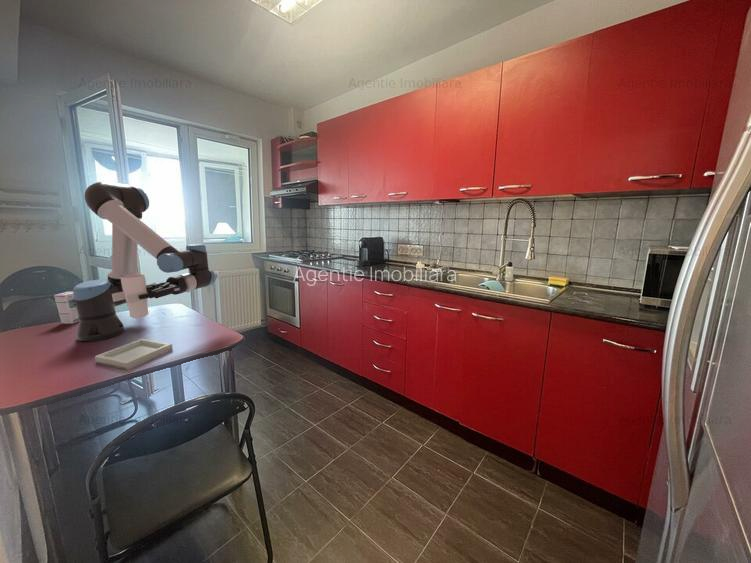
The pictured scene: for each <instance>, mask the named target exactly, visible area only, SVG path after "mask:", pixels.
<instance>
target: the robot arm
mask: <svg viewBox="0 0 751 563" xmlns="http://www.w3.org/2000/svg"><path fill="white" fill-rule="evenodd" d="M84 200H85V201H84V202H85V203H86V205H87V207H88V208H89V209H90V210H91V211H92V212H93V214H95V215H96V216H98V217H99V218H100V219H103V220H107V221H108V222H109V223H111V225H112V226H111V228H112V230H111V231H112V232H111V233H112V235H111V236H112V238H111V241H112V243H111V245H112V247H111V250H112V251H111V254H112V255H111V271H110V272H108V273H107V279H106V278H105V279H104V278H101V279H100V278H98V279H93V280H86V281H84V282H80V283H78V284H76V285H75V286H74V287H73V288H72V292H73V298H74V300H75V304H76V308H77V312H78V316H79V321H78V327H77V332H76V337H77V338H76V339H77V341H79V342H82V341H87V342H96V341H102V340H106V339H110V338H114V337H116V336H118V335H121V334H123V333H124V332H125V326H124V324H123V322H122V321H121V319H120V318H119V317H118V315H117V313H116V307H117V306H122V305H125V304H127V302H128V303H129V304H130V303H133V302H137V301H141V300H145V299H147V300H148V299H153V298H154V299H158V298H163V297H166V296H170V295H174V296H176V295H181V294H183V293H190V292H191V291H194V290H197V289H201V288H206V287H209V286H211V285H212V286H213V285H214V283H215V282H216V279H217V276H216V274H215V271H213V270H212V269H210V268H209V261H208V252H207V246H206V245H205V244H203V243H192V244H187V245H186V246H185V247H186V248H185V250H180V251H179V250H178V249H177V248H175V247H174V246H173V245H171V243H169V242H167V241H166V240H165V239H164V238H163V237H161V236H160V235H159V234H158V233H157V232H156V231H155V230H153V229H152V228H150V227H149V226H148V225H147V224H146V223H144V221H142V219H143V213H145V212H146V211H147V210H149V208H150V199H149V196H148V195H147V193H146V192H145V191H144V190H143V189H142V188H140V187H139V186H137V185H131V184H126V183H117V182H116V183H114V182H106V181H98V182H94V183H91V184H89V186H88V187H87V188H86V189H85V191H84ZM138 246H140V248H142V249H143V250H145V251H146V252H147V253H148V254H150V255H151V257H153V258H155V259H156V266H157V267H158V269H159V270H160V271H161V272H164V273H176V272H180V271H183V270H186V269H187V270H189V272H187V273H182V274H178V275H173V276H170V277H168V278H166V281H165V282H164V281H162V282H159V283H156V282H153V283H150V284H146V288H147V291H144V292H140V293H136V294H132V295H127V296H126V297H127V302H126V299H125V296H124V292H123V289H122V284H121V277H122V276H126V275H135V274H140V273H139V272H138V270H137V267H138V266H137V265H138V264H137V263H138Z"/></svg>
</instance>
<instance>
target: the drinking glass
mask: <svg viewBox="0 0 751 563" xmlns="http://www.w3.org/2000/svg"><path fill="white" fill-rule="evenodd" d="M121 284H122V289H123V292H124V296H125V299H126V302H127V297H126V296H127V295H132V294H136V293H140V292H144V291H147V288H146V285H147V282H146V277H145V274H140V273H139V274H135V275H126V276H122V277H121ZM126 305H127V308H128V311H129V316H130V318H132V319H138V318H143V317H146V316H148V315H149V306H148V299H145V300H141V301H137V302H133V303H130V304H129V303H128V302H127V303H126Z"/></svg>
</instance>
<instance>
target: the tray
mask: <svg viewBox="0 0 751 563" xmlns="http://www.w3.org/2000/svg"><path fill="white" fill-rule="evenodd" d="M172 351H173V343H168V342H163V341H159V340H158V341H157V340H152V339H149V338H148V339H147V338H140V339H138V340H135V341H134V340H133V341H132V342H130V343H126V344H123V345H121V346H118V347H116V348H113V349H111V350H108V351H105V352H103V353H100V354H97V355H95V356H94V359H95V362H97V364H100V363H101V365H104V364H105V365H104V366H108V365H109V367H112V368H117V369H122V370H125V371H129V370H131V369H134V368H135V367H138V366H140V365H143V364H145V363H147V362H149V361H151V360H154V359H155V358H158V357H160V356H162V355H164V354H167V353H169V352H172Z"/></svg>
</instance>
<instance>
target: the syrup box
mask: <svg viewBox="0 0 751 563" xmlns="http://www.w3.org/2000/svg"><path fill="white" fill-rule="evenodd" d="M54 300H55V304H56V307H57V310H58V315H59V318H60V322H61V324H62V325H63V324H65V325H66V324H67V325H69V324H70V325H71V324H75V323H79V322H80V321H79V316H78V312H77V308H76V304H75V300H74V298H73V291H65V292H62V293H58V294H54Z"/></svg>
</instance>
